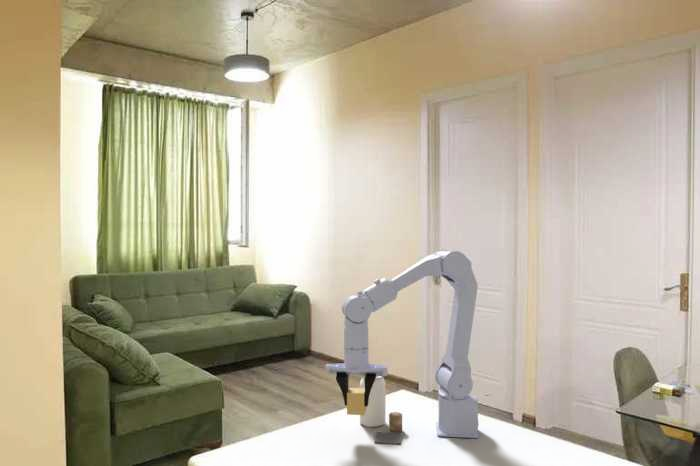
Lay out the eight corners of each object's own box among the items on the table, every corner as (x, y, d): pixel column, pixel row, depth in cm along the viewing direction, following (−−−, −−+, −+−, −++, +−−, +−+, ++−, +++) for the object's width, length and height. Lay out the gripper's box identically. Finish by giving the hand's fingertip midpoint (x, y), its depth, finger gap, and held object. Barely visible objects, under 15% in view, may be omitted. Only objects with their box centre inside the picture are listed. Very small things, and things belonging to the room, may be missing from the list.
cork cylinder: (402, 428, 131) (402, 412, 131) (401, 433, 128) (401, 417, 128) (389, 427, 132) (389, 411, 132) (388, 432, 129) (388, 416, 129)
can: (386, 428, 132) (386, 379, 132) (359, 427, 132) (359, 379, 132) (384, 418, 138) (384, 372, 138) (359, 418, 138) (359, 372, 138)
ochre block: (365, 409, 127) (365, 388, 127) (364, 415, 123) (364, 393, 123) (349, 408, 128) (349, 387, 128) (347, 414, 124) (346, 392, 124)
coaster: (401, 434, 128) (401, 432, 128) (400, 444, 122) (400, 442, 122) (376, 433, 128) (376, 431, 128) (374, 443, 122) (374, 441, 122)
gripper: (322, 350, 122) (323, 409, 122) (386, 351, 120) (386, 411, 120) (328, 343, 129) (328, 399, 129) (387, 345, 127) (388, 401, 127)
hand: (356, 404), depth 125 cm, fingers closed on ochre block, 4 cm apart
